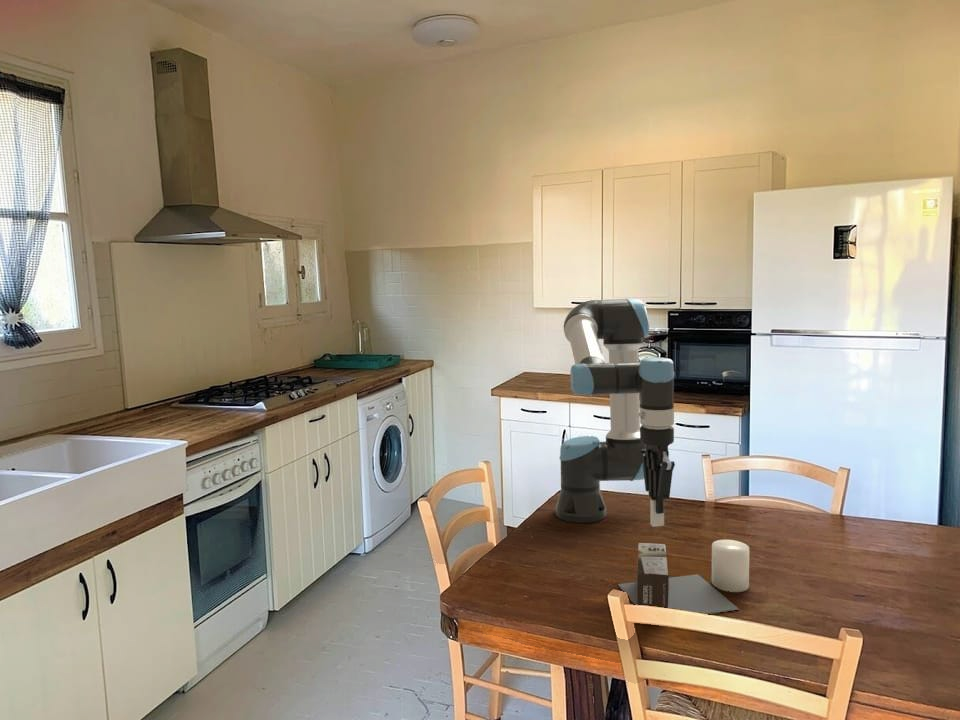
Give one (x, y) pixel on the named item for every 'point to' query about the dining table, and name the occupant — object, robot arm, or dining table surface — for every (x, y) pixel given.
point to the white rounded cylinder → (730, 565)
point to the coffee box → (652, 575)
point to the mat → (689, 595)
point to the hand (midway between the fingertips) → (657, 524)
